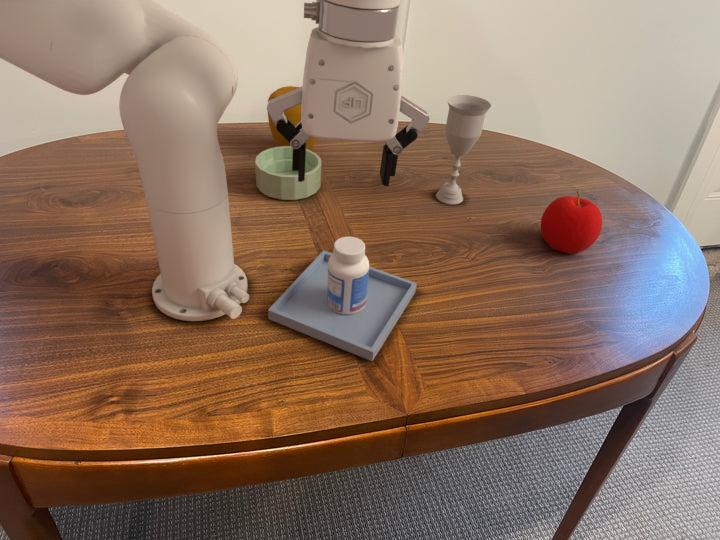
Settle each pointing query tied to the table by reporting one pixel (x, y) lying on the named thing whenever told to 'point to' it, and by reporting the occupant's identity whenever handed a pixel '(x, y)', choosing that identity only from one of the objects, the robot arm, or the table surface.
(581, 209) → the fruit
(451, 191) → the chalice
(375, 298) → the tray
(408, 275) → the table surface
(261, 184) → the bowl
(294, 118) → the apple
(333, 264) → the pill bottle
